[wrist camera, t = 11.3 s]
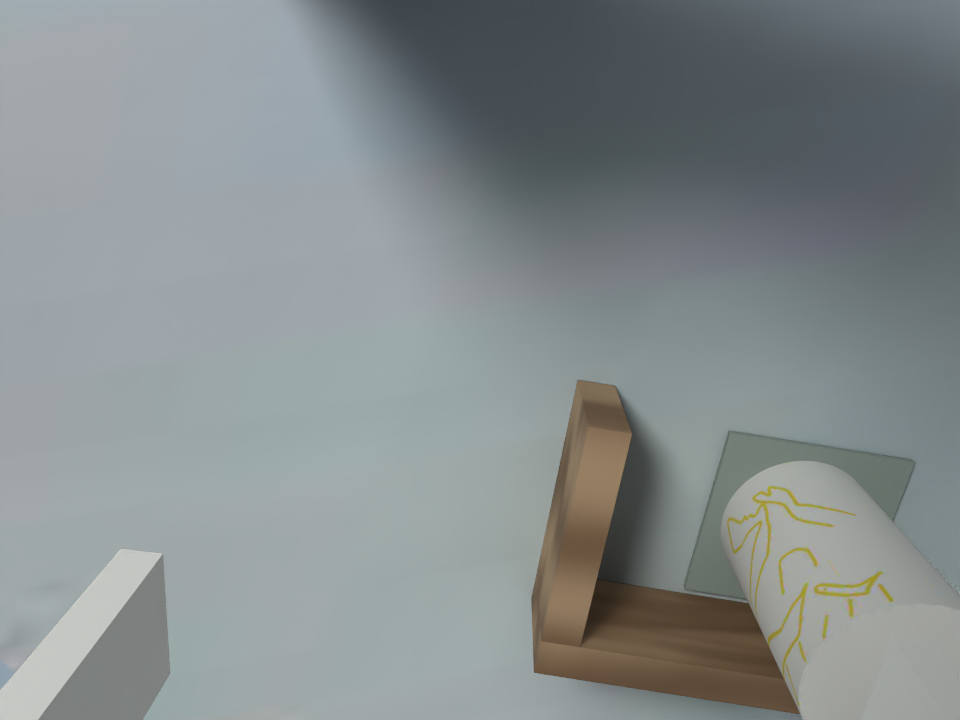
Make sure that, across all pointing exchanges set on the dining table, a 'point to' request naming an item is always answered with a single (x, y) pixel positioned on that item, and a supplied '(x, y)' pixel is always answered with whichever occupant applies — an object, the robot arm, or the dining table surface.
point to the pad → (759, 453)
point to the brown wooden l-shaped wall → (632, 591)
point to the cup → (832, 584)
